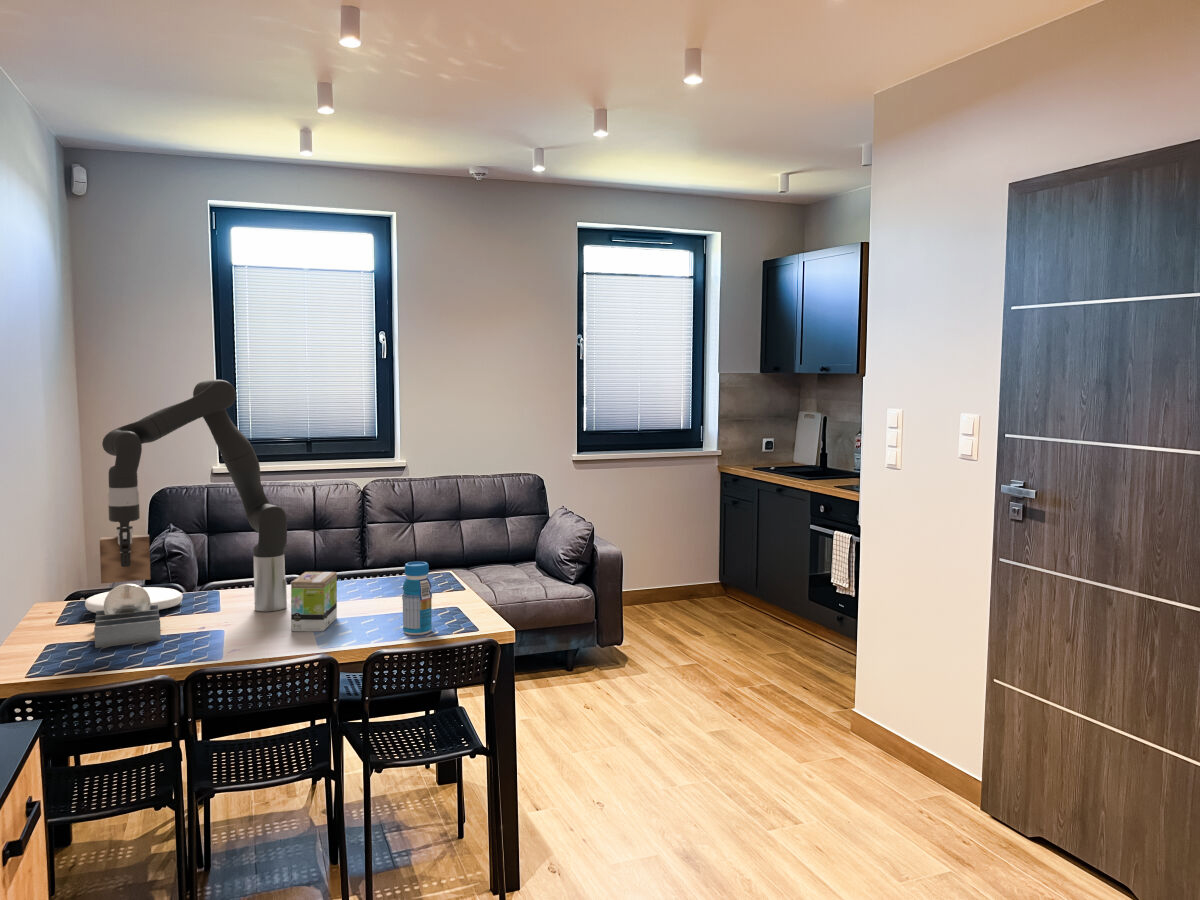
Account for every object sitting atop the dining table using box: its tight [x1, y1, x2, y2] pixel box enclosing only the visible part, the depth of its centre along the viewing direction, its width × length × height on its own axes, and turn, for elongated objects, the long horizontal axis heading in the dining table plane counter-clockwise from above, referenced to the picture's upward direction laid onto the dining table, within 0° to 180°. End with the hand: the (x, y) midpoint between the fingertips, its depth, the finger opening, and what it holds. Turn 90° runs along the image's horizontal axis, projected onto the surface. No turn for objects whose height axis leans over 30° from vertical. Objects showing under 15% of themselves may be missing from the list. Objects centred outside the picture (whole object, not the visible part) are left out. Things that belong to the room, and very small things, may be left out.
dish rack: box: [93, 583, 162, 649], centre depth 254 cm, size 16×20×13 cm
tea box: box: [290, 571, 338, 632], centre depth 265 cm, size 15×10×15 cm, turn 3°
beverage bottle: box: [401, 561, 433, 636], centre depth 258 cm, size 8×8×20 cm
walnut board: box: [99, 534, 151, 584], centre depth 247 cm, size 12×4×12 cm, turn 118°
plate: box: [84, 586, 184, 614], centre depth 283 cm, size 28×6×27 cm
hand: (125, 564), depth 247 cm, fingers closed on walnut board, 4 cm apart
